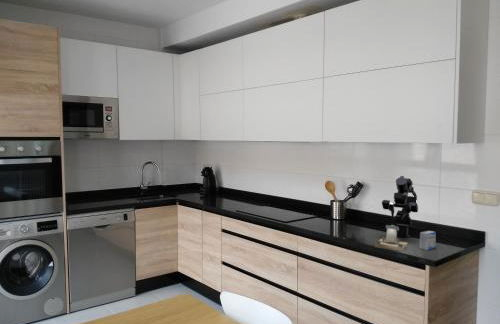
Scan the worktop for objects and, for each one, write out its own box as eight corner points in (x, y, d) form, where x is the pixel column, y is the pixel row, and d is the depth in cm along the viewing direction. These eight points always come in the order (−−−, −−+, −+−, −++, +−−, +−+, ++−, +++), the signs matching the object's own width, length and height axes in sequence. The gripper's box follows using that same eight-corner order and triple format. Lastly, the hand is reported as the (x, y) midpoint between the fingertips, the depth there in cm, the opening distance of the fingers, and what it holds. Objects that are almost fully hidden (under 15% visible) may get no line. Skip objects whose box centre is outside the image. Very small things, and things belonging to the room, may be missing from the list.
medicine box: (427, 250, 199) (428, 233, 198) (419, 248, 202) (419, 232, 202) (435, 248, 203) (436, 231, 203) (427, 246, 207) (427, 230, 207)
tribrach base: (381, 242, 214) (381, 233, 214) (407, 246, 206) (408, 236, 206) (374, 246, 204) (375, 237, 204) (402, 251, 197) (402, 241, 196)
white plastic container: (386, 241, 208) (387, 225, 210) (397, 242, 204) (399, 226, 206) (383, 239, 204) (385, 223, 206) (395, 241, 200) (397, 225, 202)
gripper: (383, 185, 222) (377, 207, 214) (417, 188, 212) (413, 211, 203) (386, 197, 229) (380, 219, 221) (420, 200, 219) (415, 223, 210)
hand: (396, 218), depth 214 cm, fingers open, 5 cm apart
